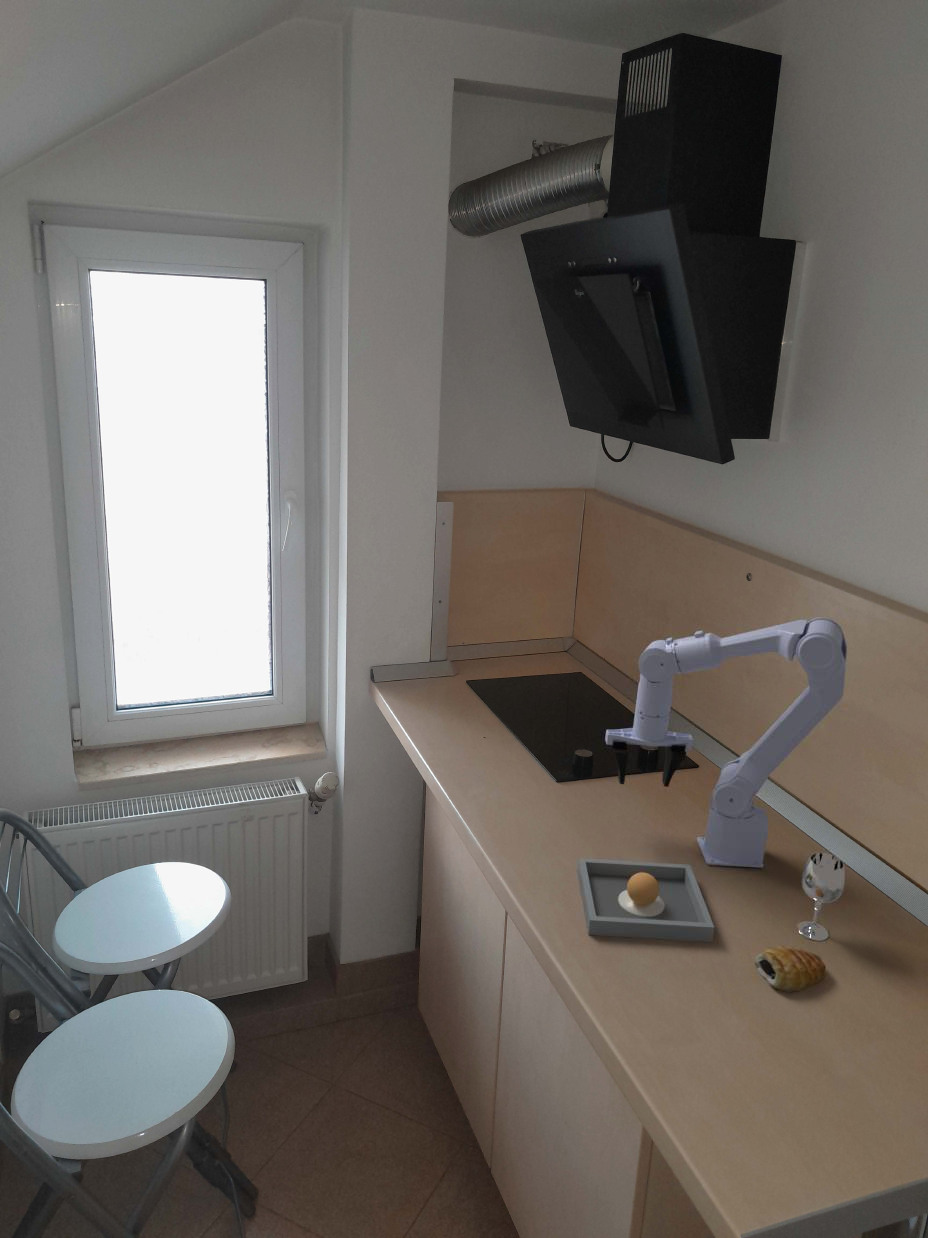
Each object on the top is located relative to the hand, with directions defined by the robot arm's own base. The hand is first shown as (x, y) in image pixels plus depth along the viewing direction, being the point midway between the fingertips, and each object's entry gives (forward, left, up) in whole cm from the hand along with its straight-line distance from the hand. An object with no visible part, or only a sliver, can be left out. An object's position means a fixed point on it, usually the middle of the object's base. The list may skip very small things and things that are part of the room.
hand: (643, 782), depth 157 cm
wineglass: (-22, +26, -10) cm, 35 cm away
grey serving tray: (+3, +22, -9) cm, 24 cm away
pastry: (-15, +36, -10) cm, 40 cm away
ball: (+3, +22, -6) cm, 23 cm away
